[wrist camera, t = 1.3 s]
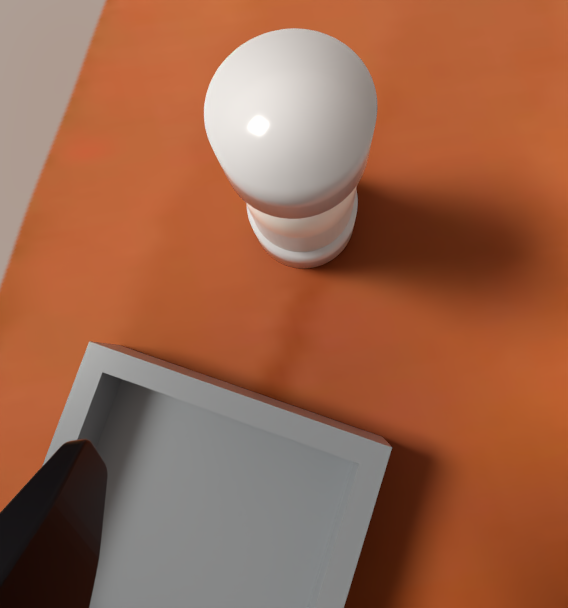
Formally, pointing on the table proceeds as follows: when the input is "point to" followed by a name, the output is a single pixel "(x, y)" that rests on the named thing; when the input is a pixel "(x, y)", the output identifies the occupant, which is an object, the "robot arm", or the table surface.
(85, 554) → the robot arm
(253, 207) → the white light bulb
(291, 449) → the parts tray
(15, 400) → the table surface
